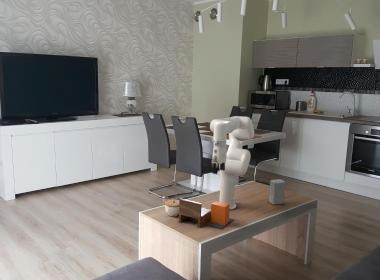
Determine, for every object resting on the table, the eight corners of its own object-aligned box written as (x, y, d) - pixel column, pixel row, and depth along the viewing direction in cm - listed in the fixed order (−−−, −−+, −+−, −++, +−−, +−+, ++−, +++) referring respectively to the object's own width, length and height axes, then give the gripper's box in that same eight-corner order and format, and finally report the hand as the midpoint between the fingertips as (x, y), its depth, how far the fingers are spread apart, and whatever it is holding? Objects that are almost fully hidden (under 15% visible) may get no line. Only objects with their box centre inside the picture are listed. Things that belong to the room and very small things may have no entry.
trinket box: (178, 210, 228) (179, 196, 226) (184, 216, 218) (185, 201, 217) (162, 212, 224) (162, 197, 223) (167, 218, 214) (168, 203, 213)
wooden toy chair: (191, 214, 222) (191, 192, 220) (211, 219, 215) (212, 197, 212) (178, 221, 210) (179, 198, 208) (199, 227, 203) (200, 203, 201)
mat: (218, 216, 220) (218, 215, 220) (233, 219, 215) (233, 219, 215) (205, 225, 207) (205, 224, 207) (221, 229, 202) (221, 228, 202)
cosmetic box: (278, 200, 251) (280, 178, 248) (284, 204, 244) (286, 181, 241) (268, 201, 248) (269, 179, 245) (273, 205, 241) (275, 182, 238)
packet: (215, 218, 216) (215, 200, 214) (229, 221, 211) (229, 204, 209) (210, 221, 211) (211, 203, 209) (224, 225, 206) (225, 207, 204)
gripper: (218, 146, 201) (217, 176, 204) (231, 142, 216) (230, 169, 219) (207, 144, 205) (206, 174, 208) (220, 140, 220) (219, 168, 223)
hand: (218, 171), depth 214 cm, fingers open, 9 cm apart
